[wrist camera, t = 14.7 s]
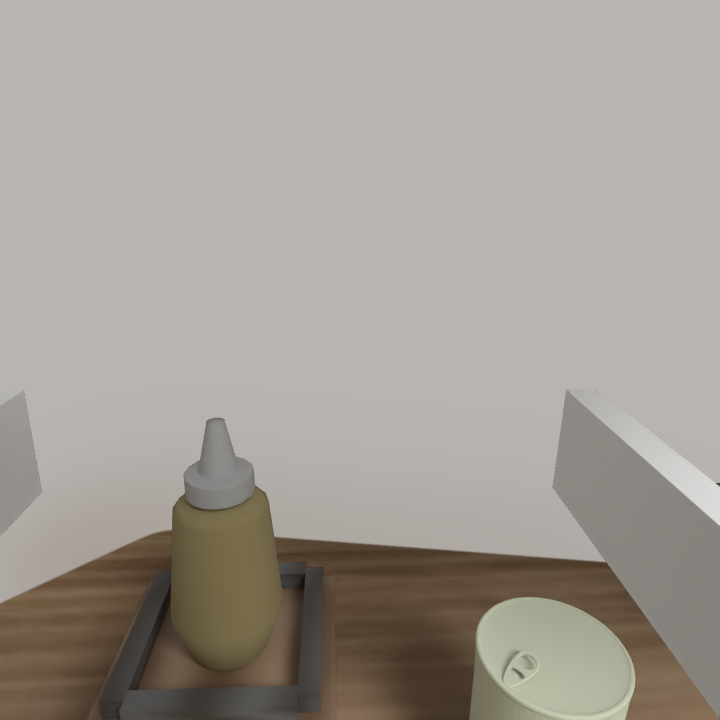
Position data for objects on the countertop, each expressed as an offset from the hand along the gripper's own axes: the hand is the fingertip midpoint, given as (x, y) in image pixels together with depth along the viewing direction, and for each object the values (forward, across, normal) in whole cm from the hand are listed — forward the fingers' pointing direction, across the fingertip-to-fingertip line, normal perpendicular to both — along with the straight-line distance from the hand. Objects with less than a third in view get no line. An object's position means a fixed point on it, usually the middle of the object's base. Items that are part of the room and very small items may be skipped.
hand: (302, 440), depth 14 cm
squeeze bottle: (+22, -7, -27) cm, 35 cm away
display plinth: (+22, -7, -32) cm, 39 cm away
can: (+14, +14, -32) cm, 38 cm away
